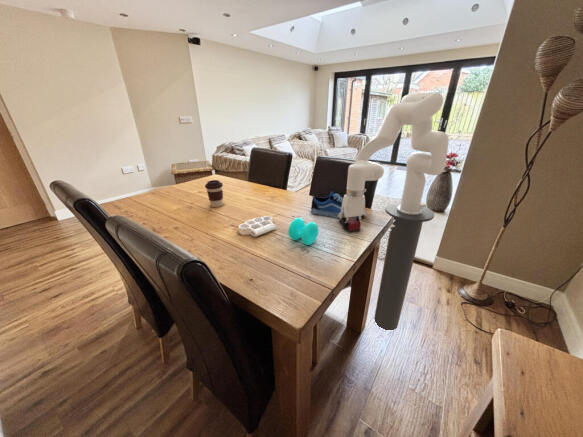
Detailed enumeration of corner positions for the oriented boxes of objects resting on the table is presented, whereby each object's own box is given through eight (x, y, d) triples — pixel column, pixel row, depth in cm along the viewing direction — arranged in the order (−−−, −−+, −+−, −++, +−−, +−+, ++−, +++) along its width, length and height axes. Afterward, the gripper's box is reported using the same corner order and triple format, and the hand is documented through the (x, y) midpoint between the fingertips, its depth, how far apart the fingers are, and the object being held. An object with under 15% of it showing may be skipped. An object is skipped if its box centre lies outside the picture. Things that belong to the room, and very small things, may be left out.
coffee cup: (215, 201, 150) (211, 178, 144) (228, 203, 147) (225, 180, 140) (205, 207, 142) (200, 183, 135) (219, 209, 138) (215, 184, 132)
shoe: (365, 222, 118) (368, 199, 113) (308, 215, 127) (308, 194, 122) (366, 213, 128) (369, 192, 122) (313, 208, 137) (313, 188, 131)
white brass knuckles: (250, 241, 104) (234, 229, 114) (281, 228, 114) (265, 219, 124) (249, 234, 102) (233, 223, 113) (281, 222, 113) (264, 213, 123)
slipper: (339, 221, 119) (339, 214, 118) (348, 220, 120) (348, 213, 119) (349, 232, 109) (350, 224, 107) (359, 231, 110) (360, 223, 108)
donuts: (301, 233, 109) (301, 214, 105) (319, 240, 103) (319, 219, 99) (287, 242, 102) (286, 221, 98) (305, 249, 96) (305, 228, 92)
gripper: (367, 188, 110) (363, 223, 117) (333, 191, 106) (331, 227, 114) (376, 193, 103) (371, 229, 111) (340, 197, 99) (338, 234, 107)
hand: (351, 228), depth 112 cm, fingers closed on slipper, 5 cm apart
